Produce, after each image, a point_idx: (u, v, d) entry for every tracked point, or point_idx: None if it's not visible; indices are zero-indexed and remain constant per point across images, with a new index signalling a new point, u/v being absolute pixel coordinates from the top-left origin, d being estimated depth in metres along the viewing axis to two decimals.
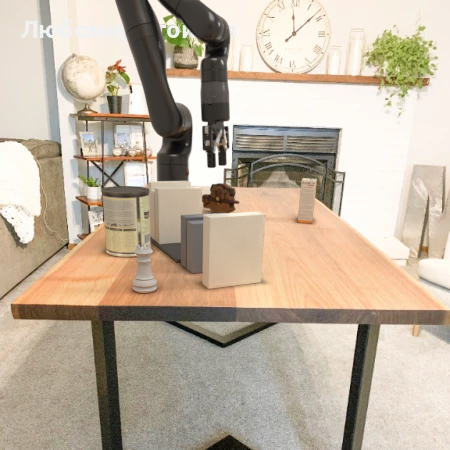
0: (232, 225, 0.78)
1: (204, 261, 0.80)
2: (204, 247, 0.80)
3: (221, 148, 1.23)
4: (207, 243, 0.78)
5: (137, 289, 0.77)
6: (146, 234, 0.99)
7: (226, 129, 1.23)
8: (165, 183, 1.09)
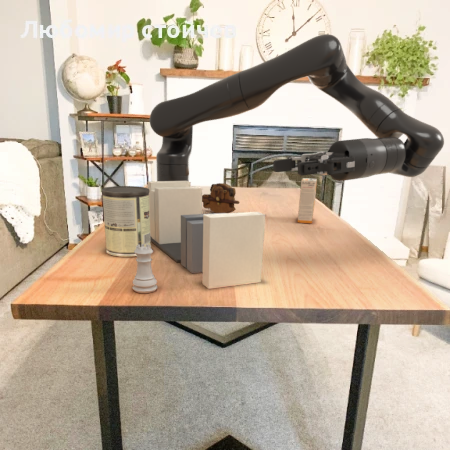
0: (232, 225, 0.78)
1: (204, 261, 0.80)
2: (204, 247, 0.80)
3: (294, 163, 0.86)
4: (207, 243, 0.78)
5: (137, 289, 0.77)
6: (146, 234, 0.99)
7: None
8: (165, 183, 1.09)
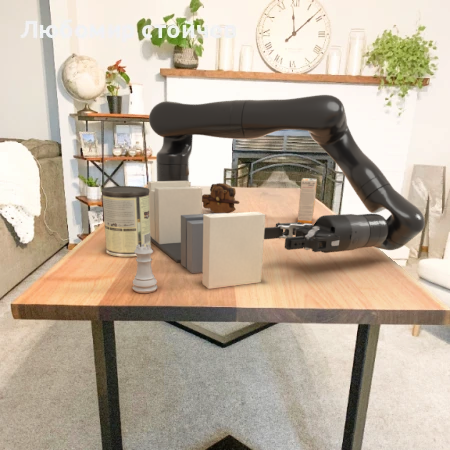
0: (232, 225, 0.78)
1: (204, 261, 0.80)
2: (204, 247, 0.80)
3: (282, 231, 0.90)
4: (207, 243, 0.78)
5: (137, 289, 0.77)
6: (146, 234, 0.99)
7: None
8: (165, 183, 1.09)
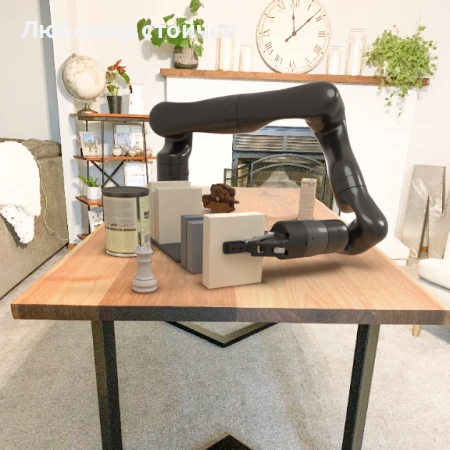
0: (232, 225, 0.78)
1: (204, 261, 0.80)
2: (204, 247, 0.80)
3: None
4: (207, 243, 0.78)
5: (137, 289, 0.77)
6: (146, 234, 0.99)
7: None
8: (165, 183, 1.09)
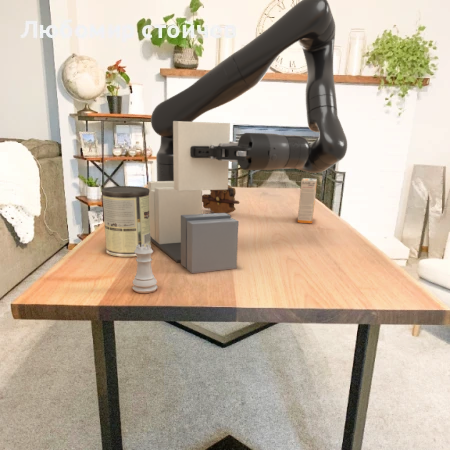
0: (199, 130, 0.86)
1: (174, 166, 0.89)
2: (174, 152, 0.88)
3: None
4: (176, 147, 0.86)
5: (137, 289, 0.77)
6: (146, 234, 0.99)
7: None
8: (165, 183, 1.09)
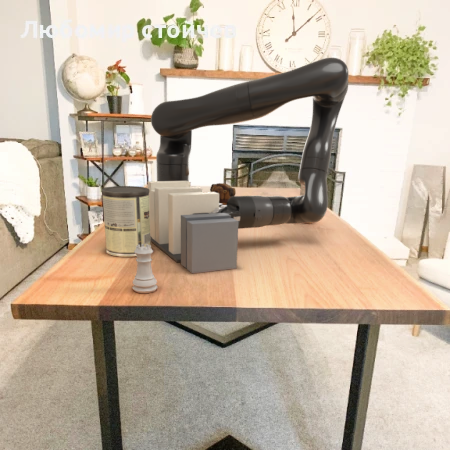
0: (191, 201, 0.96)
1: (169, 232, 0.99)
2: (169, 220, 0.98)
3: None
4: (171, 216, 0.96)
5: (137, 289, 0.77)
6: (146, 234, 0.99)
7: None
8: (165, 183, 1.09)
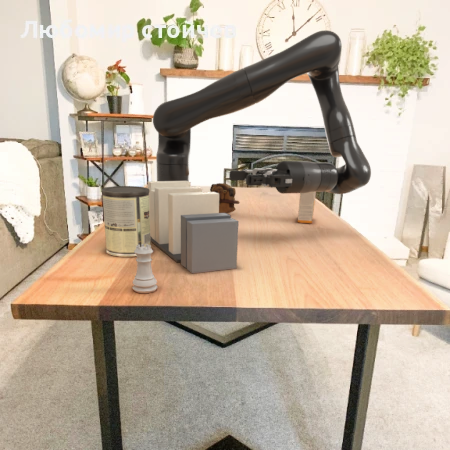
0: (191, 201, 0.96)
1: (169, 232, 0.99)
2: (169, 220, 0.98)
3: (247, 175, 1.06)
4: (171, 216, 0.96)
5: (137, 289, 0.77)
6: (146, 234, 0.99)
7: None
8: (165, 183, 1.09)
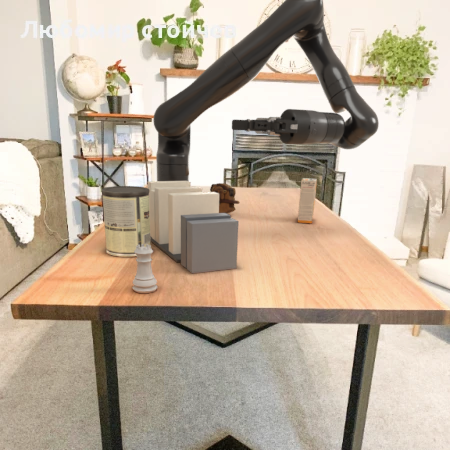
0: (191, 201, 0.96)
1: (169, 232, 0.99)
2: (169, 220, 0.98)
3: (250, 124, 1.02)
4: (171, 216, 0.96)
5: (137, 289, 0.77)
6: (146, 234, 0.99)
7: None
8: (165, 183, 1.09)
